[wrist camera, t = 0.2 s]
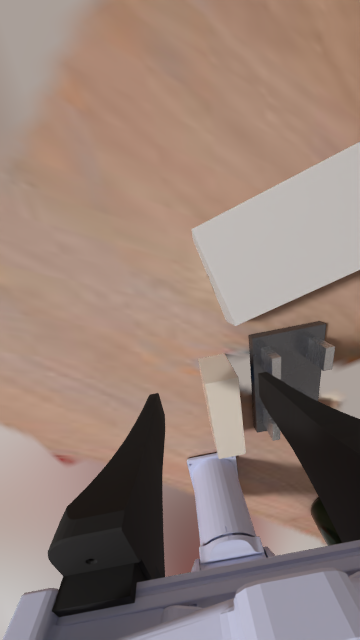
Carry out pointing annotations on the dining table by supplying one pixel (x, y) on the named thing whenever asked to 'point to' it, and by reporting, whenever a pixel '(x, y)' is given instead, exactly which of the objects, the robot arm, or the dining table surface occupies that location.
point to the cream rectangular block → (223, 405)
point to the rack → (288, 364)
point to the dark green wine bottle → (324, 523)
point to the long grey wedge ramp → (285, 239)
